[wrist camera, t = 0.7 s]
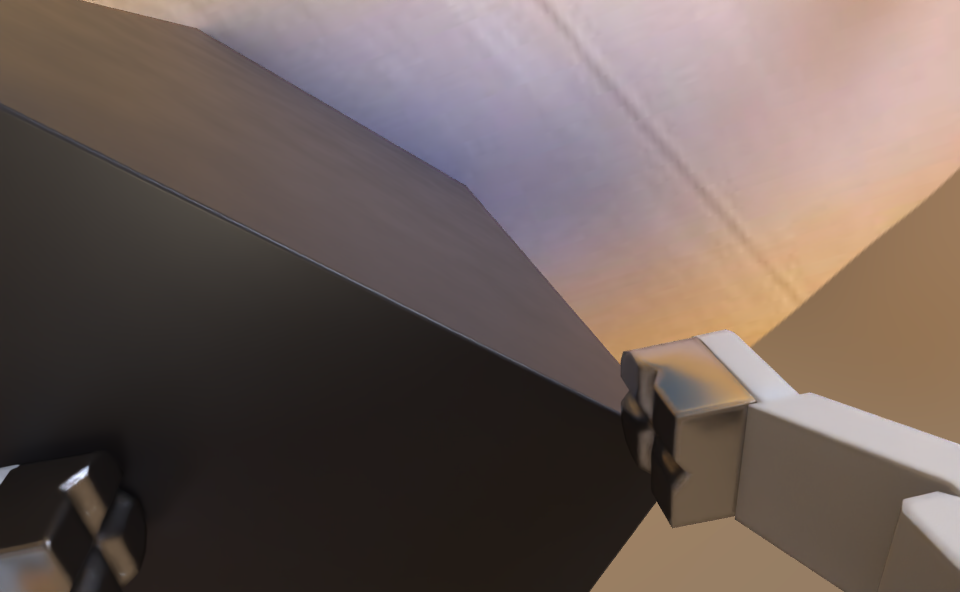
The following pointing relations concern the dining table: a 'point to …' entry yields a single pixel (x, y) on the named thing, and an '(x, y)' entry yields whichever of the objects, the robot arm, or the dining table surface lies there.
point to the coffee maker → (286, 331)
